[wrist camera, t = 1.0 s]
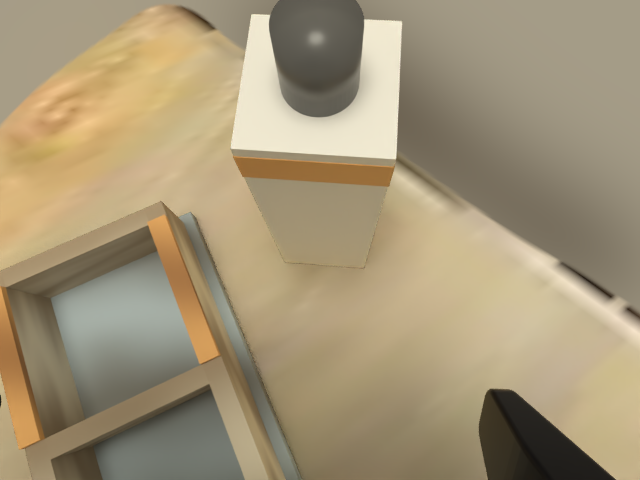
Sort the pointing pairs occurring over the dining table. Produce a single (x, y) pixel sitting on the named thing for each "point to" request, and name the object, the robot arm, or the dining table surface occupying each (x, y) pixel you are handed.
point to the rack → (134, 361)
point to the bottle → (319, 126)
